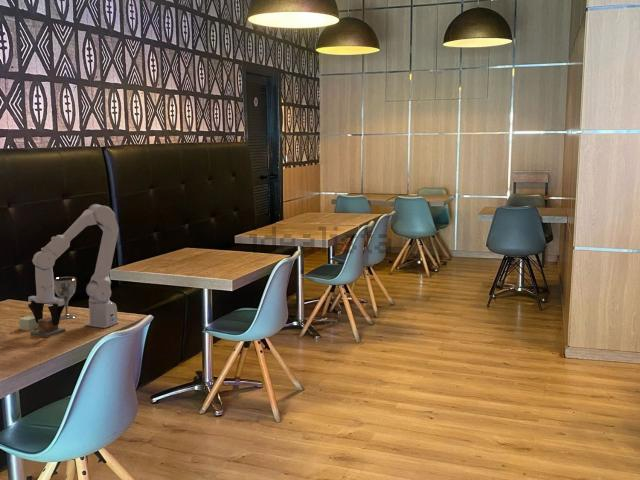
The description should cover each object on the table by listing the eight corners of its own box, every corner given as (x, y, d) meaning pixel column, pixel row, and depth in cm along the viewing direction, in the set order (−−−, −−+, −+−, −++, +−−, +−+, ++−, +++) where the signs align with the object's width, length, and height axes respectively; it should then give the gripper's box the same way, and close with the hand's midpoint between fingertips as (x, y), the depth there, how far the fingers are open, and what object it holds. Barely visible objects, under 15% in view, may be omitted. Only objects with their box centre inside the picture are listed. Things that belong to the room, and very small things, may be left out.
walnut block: (58, 329, 223) (57, 318, 222) (48, 332, 219) (47, 321, 218) (48, 327, 224) (48, 316, 224) (38, 331, 220) (37, 320, 220)
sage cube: (39, 327, 229) (38, 316, 228) (29, 331, 225) (28, 320, 224) (29, 326, 230) (29, 315, 230) (19, 329, 226) (19, 318, 226)
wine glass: (51, 319, 240) (48, 280, 237) (64, 313, 247) (61, 276, 245) (70, 320, 238) (67, 281, 236) (82, 314, 246) (80, 277, 243)
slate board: (65, 331, 224) (65, 328, 223) (47, 337, 216) (47, 334, 216) (48, 328, 227) (48, 326, 226) (30, 334, 219) (30, 332, 219)
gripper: (20, 286, 218) (22, 324, 220) (52, 290, 212) (54, 329, 214) (36, 282, 224) (39, 319, 226) (67, 285, 219) (70, 323, 221)
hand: (47, 323), depth 221 cm, fingers open, 7 cm apart
